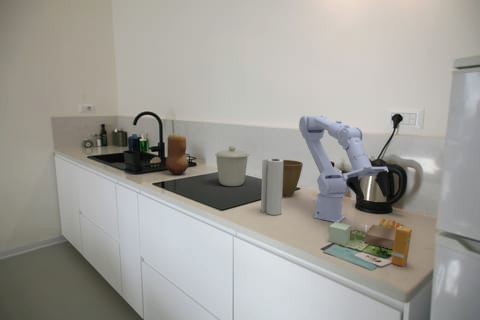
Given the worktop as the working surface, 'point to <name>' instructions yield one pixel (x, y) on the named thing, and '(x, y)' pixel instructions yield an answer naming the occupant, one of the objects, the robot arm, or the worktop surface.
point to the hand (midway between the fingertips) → (374, 197)
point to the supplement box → (401, 246)
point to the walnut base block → (380, 236)
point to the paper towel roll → (272, 186)
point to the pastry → (390, 224)
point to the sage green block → (339, 233)
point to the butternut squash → (176, 154)
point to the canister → (231, 166)
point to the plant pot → (290, 176)
